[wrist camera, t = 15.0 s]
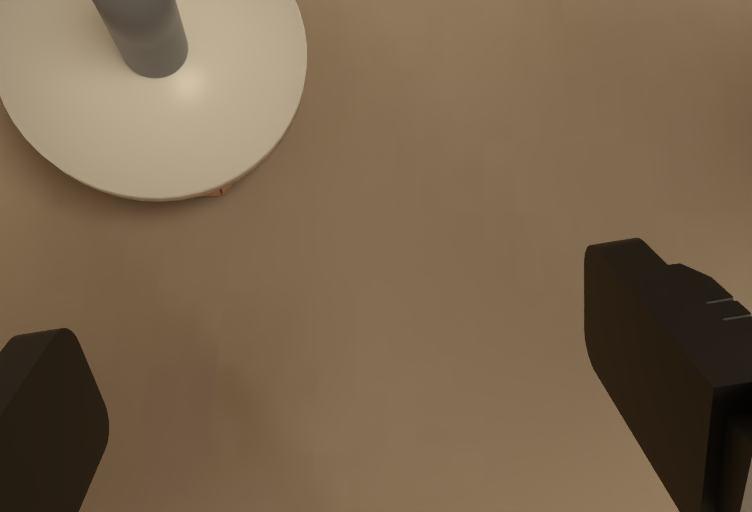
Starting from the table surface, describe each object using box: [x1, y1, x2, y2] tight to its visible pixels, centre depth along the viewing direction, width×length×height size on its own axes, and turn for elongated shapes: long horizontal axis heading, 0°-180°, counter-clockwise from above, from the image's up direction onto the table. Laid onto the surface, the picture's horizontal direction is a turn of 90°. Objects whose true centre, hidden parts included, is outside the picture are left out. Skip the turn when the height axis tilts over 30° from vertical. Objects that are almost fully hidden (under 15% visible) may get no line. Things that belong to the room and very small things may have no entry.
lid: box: [0, 0, 307, 202], centre depth 27 cm, size 14×14×9 cm
